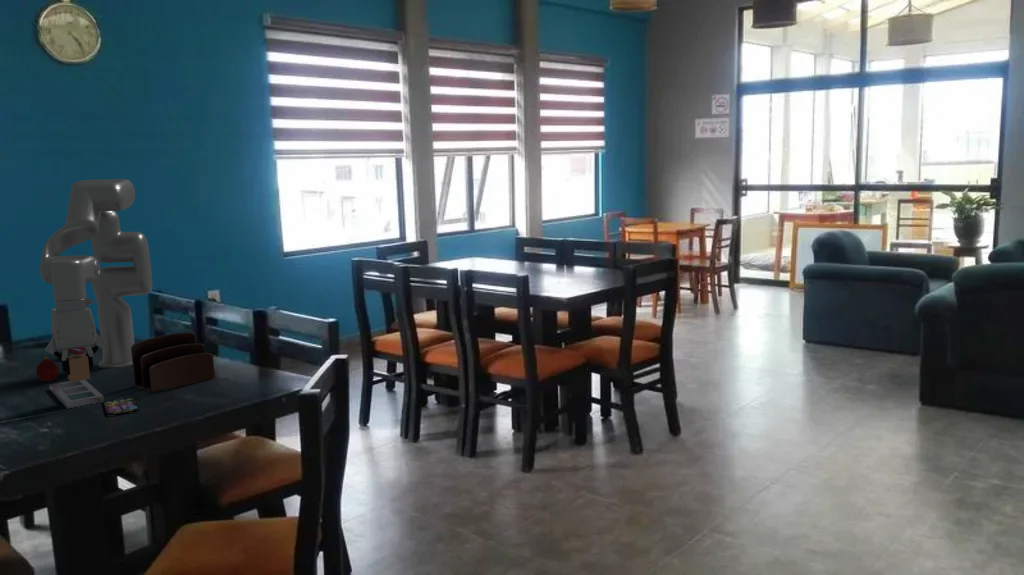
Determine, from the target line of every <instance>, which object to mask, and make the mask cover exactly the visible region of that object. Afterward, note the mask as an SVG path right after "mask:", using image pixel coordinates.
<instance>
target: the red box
mask: <svg viewBox="0 0 1024 575" xmlns="http://www.w3.org/2000/svg"><path fill="white" fill-rule="evenodd" d="M85 352H86V351H85V348H84V347H79V348H72V349H68V353H67V357H69V356H76V355H83V354H85Z"/></svg>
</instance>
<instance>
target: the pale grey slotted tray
mask: <svg viewBox="0 0 1024 575" xmlns="http://www.w3.org/2000/svg"><path fill="white" fill-rule="evenodd" d="M49 390H50V391H51V393H52V394H53V395H54V396H55V397H56V398H57V399H58V400H59V401H60V402H61V403H62V404H63V406H64V407H65V409H66V410H67V409H69V408H74V407H80V406H85V405H90V404H96V403H102V402H104V401H105V399H104V395H103V394H102V393H101V392H100V391H99V390H97V388H95V387H94V386H93V385H92V384H90V383H89V382H88V381H87V379H86V380H80V381H74V382H71V381H70V380H69V381H63V382H55V383H52V384H49ZM102 404H103V403H102ZM96 405H97V404H96ZM80 408H81V407H80Z"/></svg>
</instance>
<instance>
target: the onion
mask: <svg viewBox="0 0 1024 575" xmlns="http://www.w3.org/2000/svg"><path fill="white" fill-rule="evenodd" d="M35 370H36V371H35V372H36V376H37V378H39V379H40V381H42V382H44V383H51V382H53V381H55V379H56V378H57V377H58V376H59V372H60V369H59V366H58V364H57V363H56V362H55V361H53V360H51V359H49V357H47V356H44V358H43V360H42V361H41V362H39V364H38V365H37V366H36V369H35Z"/></svg>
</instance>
